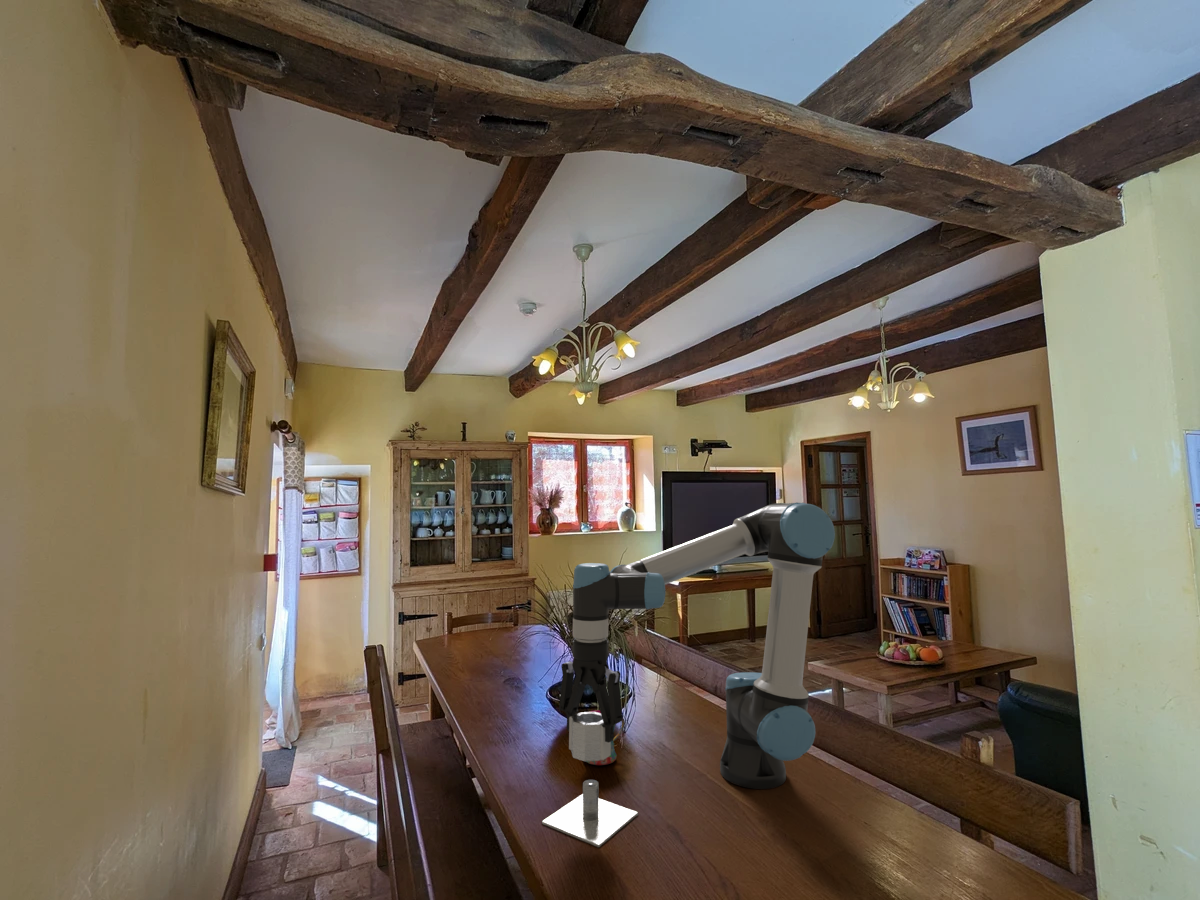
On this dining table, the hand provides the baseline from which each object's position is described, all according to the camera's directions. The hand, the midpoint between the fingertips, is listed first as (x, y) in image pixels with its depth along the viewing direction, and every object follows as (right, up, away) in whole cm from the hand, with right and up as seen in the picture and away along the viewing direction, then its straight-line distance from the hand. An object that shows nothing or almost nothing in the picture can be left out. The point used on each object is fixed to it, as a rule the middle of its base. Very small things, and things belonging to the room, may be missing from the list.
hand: (589, 752), depth 120 cm
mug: (+3, -16, +27) cm, 31 cm away
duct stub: (0, -13, -1) cm, 13 cm away
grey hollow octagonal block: (0, 0, 0) cm, 0 cm away
